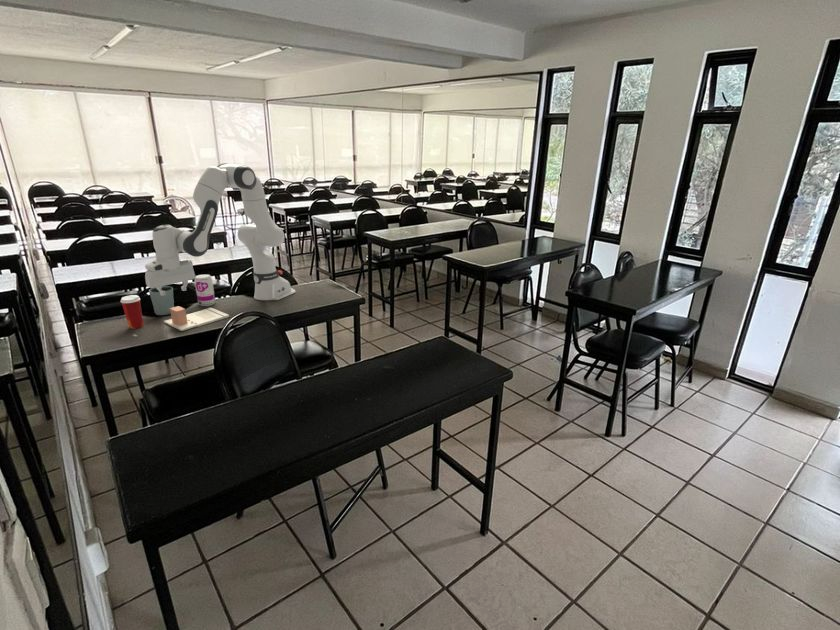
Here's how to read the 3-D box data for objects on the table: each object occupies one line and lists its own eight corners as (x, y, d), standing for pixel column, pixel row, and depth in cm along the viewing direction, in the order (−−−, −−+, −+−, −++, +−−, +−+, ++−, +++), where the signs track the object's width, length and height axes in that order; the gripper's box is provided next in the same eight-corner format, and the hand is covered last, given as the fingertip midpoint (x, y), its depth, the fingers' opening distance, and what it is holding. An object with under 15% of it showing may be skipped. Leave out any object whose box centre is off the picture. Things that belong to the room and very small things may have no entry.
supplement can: (211, 306, 235) (207, 278, 230) (195, 306, 235) (190, 278, 230) (218, 301, 243) (214, 274, 237) (203, 301, 243) (198, 273, 237)
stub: (179, 318, 219) (176, 302, 216) (196, 326, 210) (194, 310, 208) (164, 322, 214) (161, 306, 211) (181, 331, 205) (178, 314, 202)
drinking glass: (148, 314, 224) (143, 290, 220) (165, 307, 233) (161, 284, 229) (165, 316, 222) (160, 293, 217) (181, 309, 230) (177, 287, 226)
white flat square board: (211, 309, 232) (210, 307, 231) (229, 316, 223) (229, 314, 222) (179, 318, 220) (179, 316, 219) (197, 326, 211) (197, 324, 210)
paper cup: (149, 323, 214) (143, 295, 208) (138, 330, 206) (132, 300, 201) (134, 322, 214) (127, 294, 209) (122, 329, 207) (115, 299, 202)
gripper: (188, 257, 211) (192, 286, 216) (140, 266, 196) (147, 296, 201) (195, 259, 208) (199, 288, 212) (147, 268, 192) (154, 299, 197)
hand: (173, 292), depth 206 cm, fingers open, 8 cm apart
